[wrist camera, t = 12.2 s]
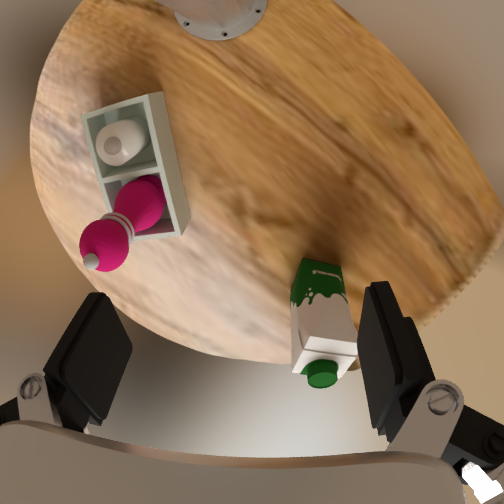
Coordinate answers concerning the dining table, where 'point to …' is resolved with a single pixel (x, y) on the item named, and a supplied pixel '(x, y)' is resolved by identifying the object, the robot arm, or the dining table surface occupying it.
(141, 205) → the pepper mill
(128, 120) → the salt cellar
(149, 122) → the grey divided tray
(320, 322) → the milk carton
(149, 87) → the dining table surface
